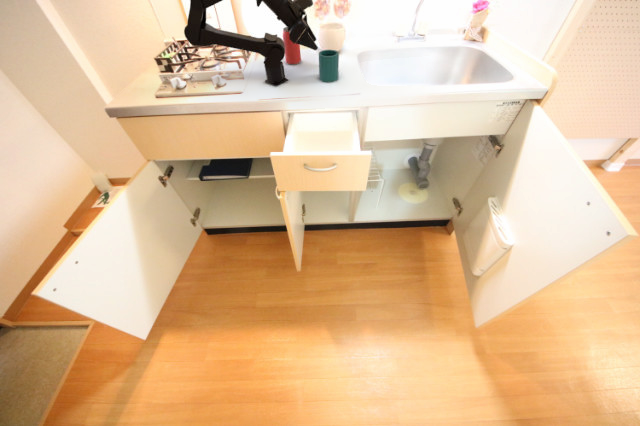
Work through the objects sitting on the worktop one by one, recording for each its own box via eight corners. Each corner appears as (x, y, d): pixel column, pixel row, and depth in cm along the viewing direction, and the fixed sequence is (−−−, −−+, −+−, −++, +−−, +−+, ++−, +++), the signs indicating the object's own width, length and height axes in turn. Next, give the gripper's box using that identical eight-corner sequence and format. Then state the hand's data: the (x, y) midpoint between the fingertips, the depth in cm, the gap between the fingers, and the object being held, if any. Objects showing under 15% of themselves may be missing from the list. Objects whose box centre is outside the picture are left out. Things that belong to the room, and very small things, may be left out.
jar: (330, 84, 89) (330, 58, 82) (315, 79, 92) (314, 54, 85) (341, 77, 92) (342, 52, 86) (327, 73, 95) (327, 48, 89)
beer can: (284, 60, 105) (279, 27, 96) (298, 58, 106) (295, 25, 97) (288, 66, 101) (284, 31, 92) (303, 63, 102) (300, 29, 93)
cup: (349, 54, 108) (350, 27, 100) (323, 58, 105) (323, 32, 98) (337, 46, 115) (338, 20, 108) (314, 50, 112) (312, 24, 105)
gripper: (295, -16, 64) (335, 31, 73) (296, -26, 76) (330, 16, 85) (272, 22, 70) (311, 61, 79) (275, 7, 82) (309, 43, 91)
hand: (316, 44), depth 83 cm, fingers open, 9 cm apart
